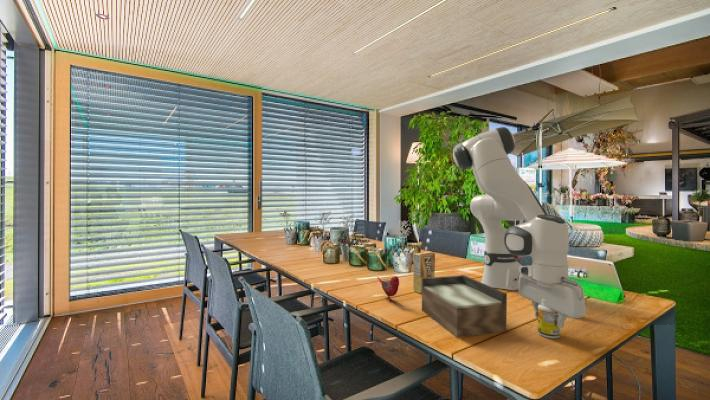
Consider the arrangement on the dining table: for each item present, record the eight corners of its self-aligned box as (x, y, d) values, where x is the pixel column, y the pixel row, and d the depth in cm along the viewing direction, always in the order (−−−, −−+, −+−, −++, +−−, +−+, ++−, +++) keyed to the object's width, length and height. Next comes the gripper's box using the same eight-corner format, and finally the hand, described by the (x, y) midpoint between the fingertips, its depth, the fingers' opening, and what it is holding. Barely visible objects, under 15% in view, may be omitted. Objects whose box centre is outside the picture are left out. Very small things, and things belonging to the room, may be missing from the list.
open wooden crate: (463, 306, 120) (464, 275, 120) (506, 331, 99) (506, 293, 98) (421, 310, 116) (422, 278, 116) (456, 337, 95) (456, 297, 94)
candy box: (426, 287, 143) (427, 251, 143) (435, 289, 140) (435, 252, 140) (412, 291, 138) (413, 253, 137) (421, 293, 135) (421, 255, 134)
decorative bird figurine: (395, 306, 120) (395, 278, 119) (373, 292, 136) (374, 267, 136) (402, 305, 121) (402, 277, 120) (380, 291, 137) (380, 267, 137)
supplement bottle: (540, 329, 100) (540, 294, 100) (561, 334, 97) (562, 298, 96) (535, 335, 96) (536, 299, 96) (558, 341, 92) (558, 303, 92)
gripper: (592, 282, 86) (591, 336, 87) (532, 265, 106) (531, 309, 107) (572, 283, 85) (571, 339, 85) (514, 266, 105) (514, 310, 105)
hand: (548, 322), depth 96 cm, fingers closed on supplement bottle, 6 cm apart
